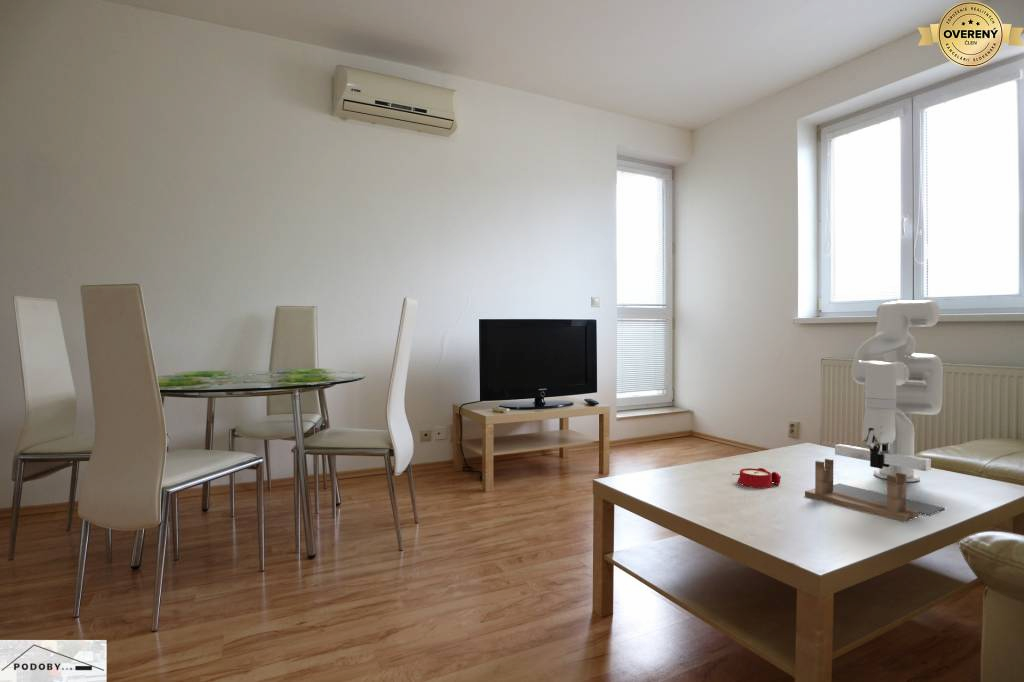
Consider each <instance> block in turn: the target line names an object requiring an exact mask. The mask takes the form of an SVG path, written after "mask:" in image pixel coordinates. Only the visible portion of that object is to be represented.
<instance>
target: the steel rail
mask: <svg viewBox="0 0 1024 682" xmlns="http://www.w3.org/2000/svg"><path fill="white" fill-rule="evenodd" d="M869 451H870V449H869V448H868V447H859V446H854V445H849V444H848V445H847V444H841V443H838V444H835V445H834V455H835V456H840V457H847V458H852V459H857V460H862V461H867V462H870V452H869ZM881 455H883V463H884V464H889V465H894V466H900V467H905V468H911V469H914V470H915V471H916V470H917V471H923V472H929V471H931V470H932V459H931V458H926V457H921V456H915V455H914V456H909V455H903V454H897V453H891V452H885V451H882V454H881Z"/></svg>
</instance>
